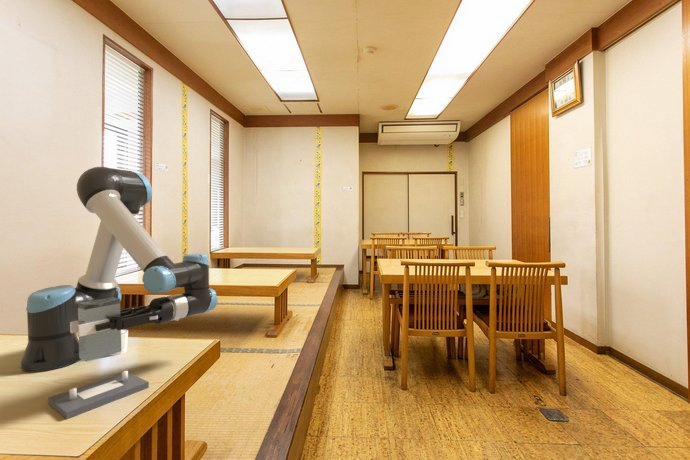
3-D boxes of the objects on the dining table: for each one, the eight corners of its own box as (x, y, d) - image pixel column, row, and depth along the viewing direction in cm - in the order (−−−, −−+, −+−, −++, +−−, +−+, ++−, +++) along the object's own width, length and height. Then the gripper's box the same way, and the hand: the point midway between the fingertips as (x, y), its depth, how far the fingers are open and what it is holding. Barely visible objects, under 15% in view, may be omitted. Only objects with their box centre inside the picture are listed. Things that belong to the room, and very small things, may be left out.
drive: (79, 358, 88) (77, 302, 88) (114, 348, 95) (112, 296, 94) (86, 361, 86) (84, 304, 86) (121, 351, 93) (119, 298, 92)
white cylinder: (116, 348, 123) (116, 328, 123) (133, 349, 122) (133, 329, 122) (99, 355, 117) (99, 334, 116) (117, 357, 115) (116, 336, 115)
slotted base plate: (48, 403, 86) (47, 387, 86) (127, 376, 101) (126, 362, 100) (66, 419, 79) (66, 401, 79) (148, 387, 94) (148, 372, 94)
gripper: (184, 325, 101) (90, 351, 81) (153, 317, 110) (61, 338, 90) (184, 299, 100) (89, 319, 81) (152, 293, 110) (60, 309, 90)
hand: (75, 329), depth 86 cm, fingers closed on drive, 4 cm apart
